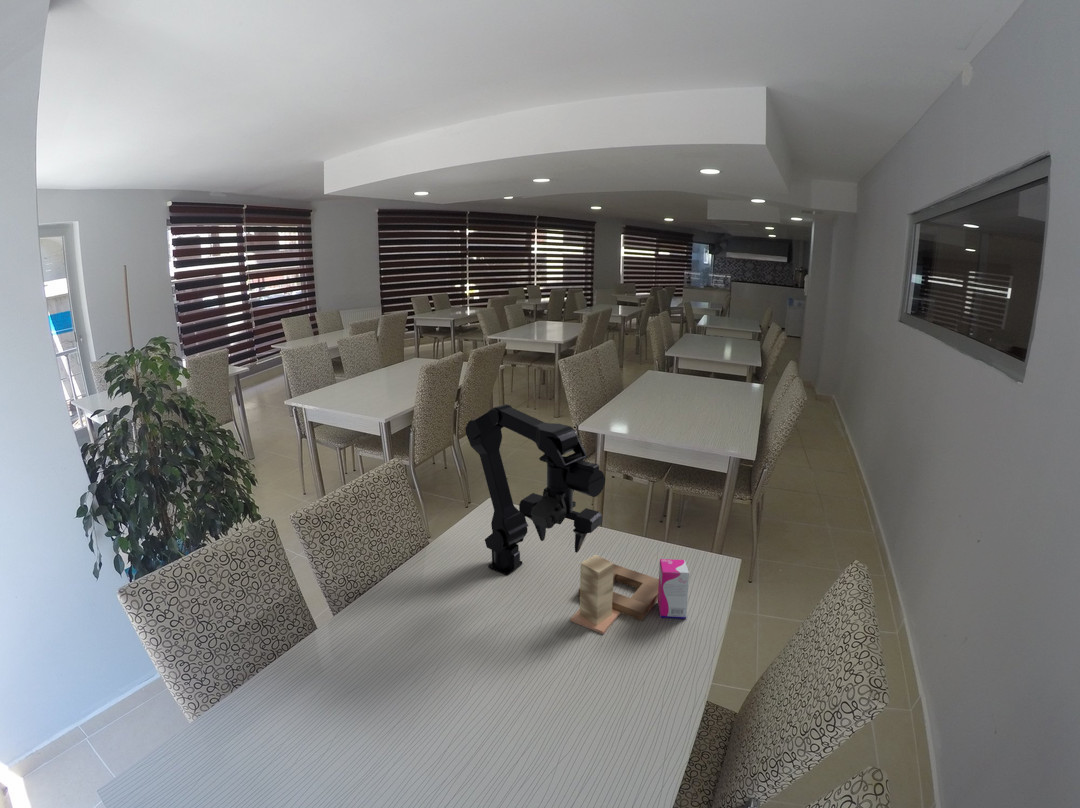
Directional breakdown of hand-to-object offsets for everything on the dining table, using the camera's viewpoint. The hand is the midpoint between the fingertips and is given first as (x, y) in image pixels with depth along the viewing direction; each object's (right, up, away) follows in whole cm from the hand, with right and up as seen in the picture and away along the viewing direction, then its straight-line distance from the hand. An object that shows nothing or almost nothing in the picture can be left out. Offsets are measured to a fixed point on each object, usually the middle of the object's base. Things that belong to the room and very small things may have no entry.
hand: (559, 546), depth 130 cm
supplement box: (+25, -14, -2) cm, 29 cm away
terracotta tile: (+8, -15, -4) cm, 17 cm away
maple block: (+8, -14, -4) cm, 17 cm away
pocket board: (+15, -12, +4) cm, 20 cm away
